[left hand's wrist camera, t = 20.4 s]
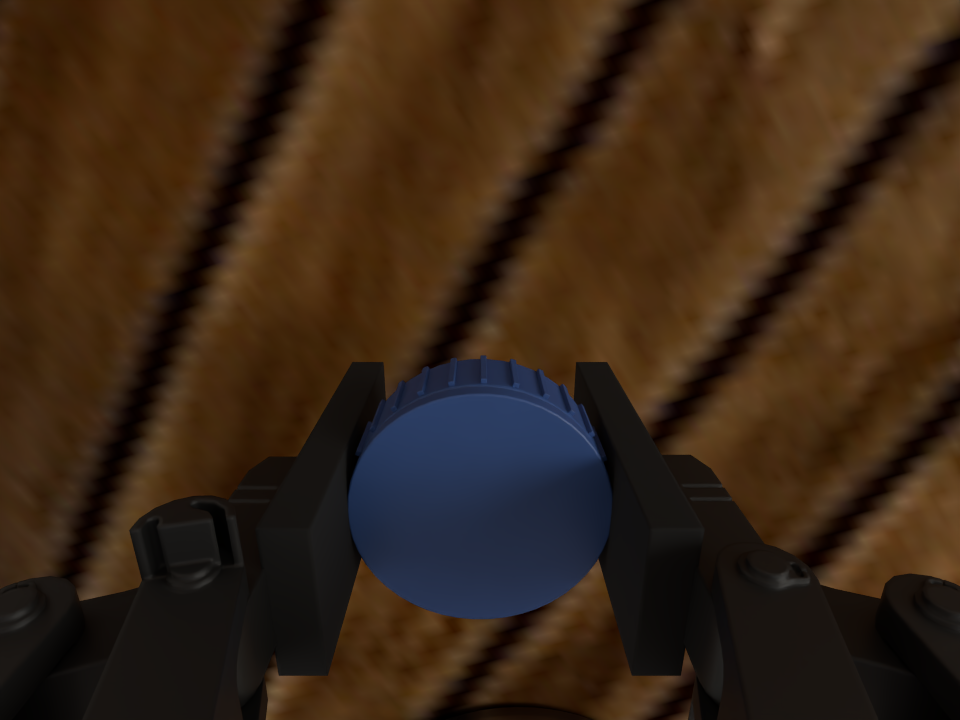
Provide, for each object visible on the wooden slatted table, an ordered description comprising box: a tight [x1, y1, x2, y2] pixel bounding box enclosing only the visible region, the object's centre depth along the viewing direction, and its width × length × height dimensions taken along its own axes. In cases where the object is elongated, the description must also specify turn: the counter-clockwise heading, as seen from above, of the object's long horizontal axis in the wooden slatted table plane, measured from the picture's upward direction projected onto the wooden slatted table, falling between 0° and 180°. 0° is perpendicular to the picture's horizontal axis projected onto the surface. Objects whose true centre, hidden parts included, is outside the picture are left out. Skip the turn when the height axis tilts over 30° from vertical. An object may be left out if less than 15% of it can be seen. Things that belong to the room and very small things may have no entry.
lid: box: [347, 356, 613, 619], centre depth 11 cm, size 5×5×2 cm
